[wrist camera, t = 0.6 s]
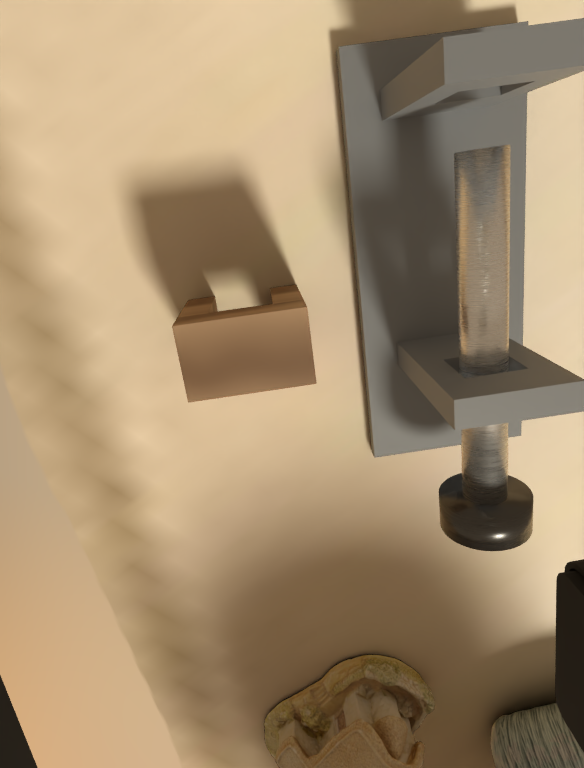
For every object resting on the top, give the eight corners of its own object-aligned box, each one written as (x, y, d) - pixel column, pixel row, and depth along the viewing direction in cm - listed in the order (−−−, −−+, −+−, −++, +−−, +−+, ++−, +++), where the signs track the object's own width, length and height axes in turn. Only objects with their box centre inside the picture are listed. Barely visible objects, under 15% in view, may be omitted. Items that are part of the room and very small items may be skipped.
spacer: (188, 299, 32) (172, 326, 26) (296, 284, 32) (307, 306, 26) (200, 362, 34) (188, 402, 27) (304, 347, 34) (316, 383, 27)
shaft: (411, 160, 26) (446, 152, 22) (510, 146, 26) (566, 135, 22) (428, 506, 33) (458, 557, 28) (507, 494, 33) (550, 543, 28)
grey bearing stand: (336, 51, 28) (383, -32, 18) (519, 27, 29) (669, -69, 18) (371, 450, 37) (418, 551, 26) (514, 429, 37) (616, 520, 26)
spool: (672, 674, 41) (729, 845, 35) (637, 702, 48) (680, 848, 42) (486, 665, 44) (507, 821, 37) (479, 693, 51) (495, 828, 44)
